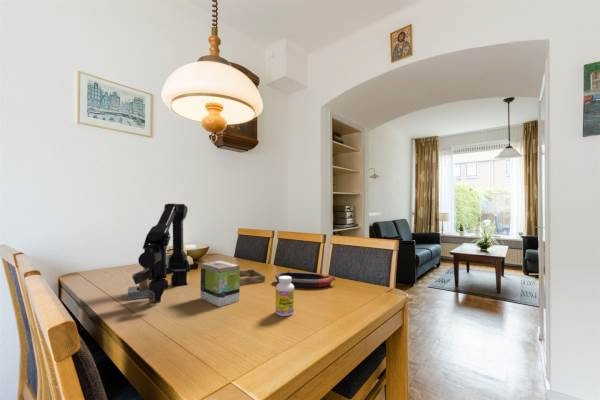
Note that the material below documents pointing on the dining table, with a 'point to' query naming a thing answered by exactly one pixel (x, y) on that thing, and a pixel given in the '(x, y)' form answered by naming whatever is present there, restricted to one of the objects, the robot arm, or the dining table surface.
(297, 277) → the dish
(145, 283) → the peg
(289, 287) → the supplement bottle
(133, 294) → the mount
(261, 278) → the trivet
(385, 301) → the dining table surface
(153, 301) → the lock pin
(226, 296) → the tea box
